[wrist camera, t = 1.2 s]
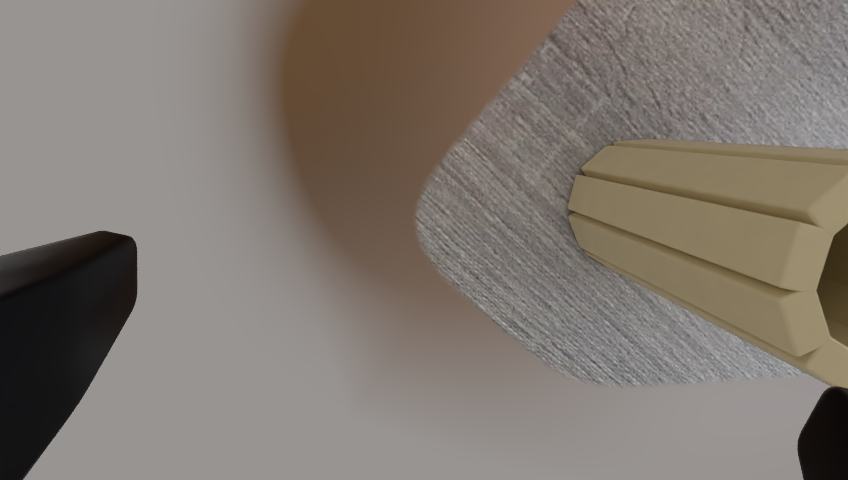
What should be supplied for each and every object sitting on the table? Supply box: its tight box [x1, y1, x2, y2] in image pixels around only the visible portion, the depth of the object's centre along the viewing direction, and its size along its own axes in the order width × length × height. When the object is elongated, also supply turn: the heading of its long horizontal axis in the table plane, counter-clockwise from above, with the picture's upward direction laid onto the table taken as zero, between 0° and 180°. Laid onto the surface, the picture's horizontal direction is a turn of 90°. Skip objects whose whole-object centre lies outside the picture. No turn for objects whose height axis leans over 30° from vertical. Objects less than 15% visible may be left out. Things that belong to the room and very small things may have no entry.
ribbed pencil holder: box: [568, 139, 848, 388], centre depth 20 cm, size 5×5×12 cm
